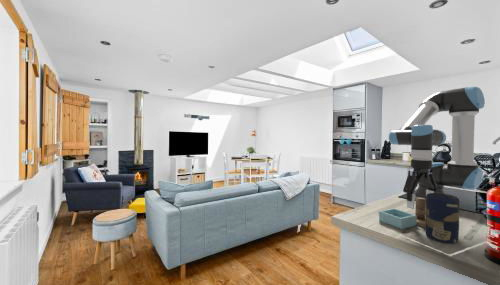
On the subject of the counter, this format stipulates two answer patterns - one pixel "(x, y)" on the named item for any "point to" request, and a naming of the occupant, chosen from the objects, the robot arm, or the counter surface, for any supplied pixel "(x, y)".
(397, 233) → the counter surface
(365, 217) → the counter surface
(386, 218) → the dish
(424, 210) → the lid
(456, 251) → the counter surface
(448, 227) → the canister
